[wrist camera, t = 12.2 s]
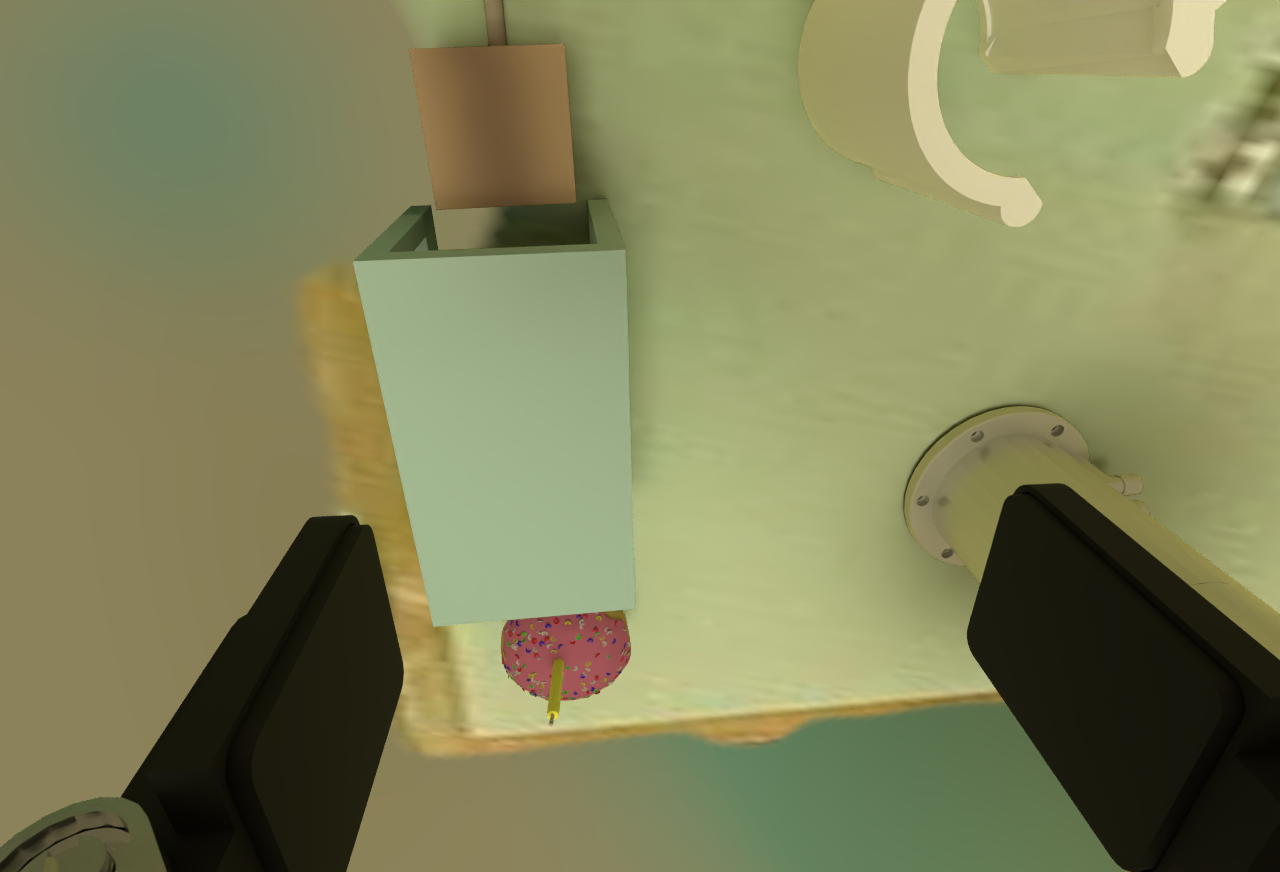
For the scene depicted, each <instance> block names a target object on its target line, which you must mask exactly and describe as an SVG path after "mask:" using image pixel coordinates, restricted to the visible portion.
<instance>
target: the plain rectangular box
mask: <svg viewBox="0 0 1280 872" xmlns="http://www.w3.org/2000/svg"><path fill="white" fill-rule="evenodd" d="M588 216H589V235H590V244H578V245H554V246H530V247H506V248H481V249H457V250H438V246H437V240H436V234H435V228H434V222H433V216H432V209H431V205H428V206H411V207H410V208H409V209H407V210H406V211H405V212H404V213H403V214H402V215H401V216H400V217H399V218H398V219H397V220H396V221H395V222H394V223H393V224H392V225H391V226H390V227H389V228H387V230H385V231H384V232H383V233H382V234H381V235H380V236H379V237H378V238H377V239H376V240H375V241H374V242H373V243H372V244H371V245H370V246H369V247H367V248H366V249H365V250H364V251H363V252H362V253H361V254H360V255H359V256H358V257H357V258H356V259H355V260H354V261H353V264H354V269H355V273H356V278H357V282H358V287H359V292H360V296H361V301H362V305H363V310H364V314H365V319H366V323H367V328H368V332H369V337H370V341H371V346H372V350H373V355H374V359H375V364H376V368H377V373H378V377H379V382H380V386H381V391H382V396H383V400H384V405H385V409H386V414H387V418H388V423H389V427H390V432H391V436H392V441H393V445H394V450H395V454H396V459H397V463H398V468H399V472H400V477H401V481H402V486H403V491H404V495H405V500H406V504H407V509H408V513H409V518H410V522H411V527H412V531H413V536H414V540H415V545H416V549H417V554H418V558H419V563H420V567H421V572H422V576H423V581H424V585H425V590H426V595H427V599H428V604H429V608H430V613H431V617H432V622H433V626H434V627H435V626H446V625H458V624H469V623H480V622H492V621H503V620H514V619H526V618H537V617H548V616H560V615H571V614H582V613H594V612H605V611H616V610H628V609H635V580H634V542H633V504H632V467H631V429H630V391H629V353H628V315H627V277H626V249H625V246H624V244H623V241H622V238H621V236H620V233H619V230H618V228H617V225H616V222H615V220H614V217H613V214H612V212H611V209H610V206H609V204H608V201H607V199H596V200H588Z"/></svg>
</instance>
